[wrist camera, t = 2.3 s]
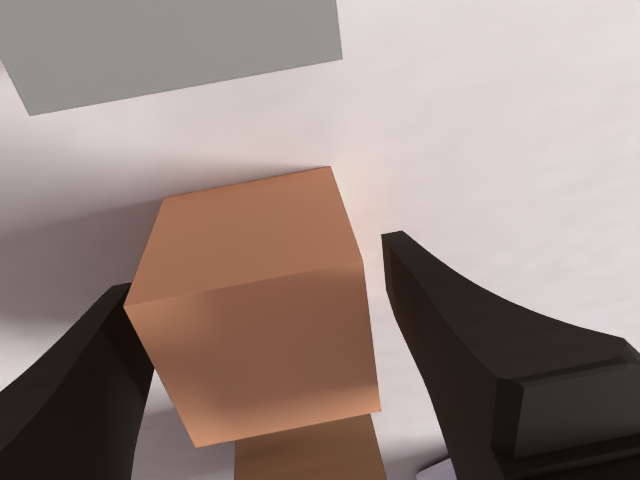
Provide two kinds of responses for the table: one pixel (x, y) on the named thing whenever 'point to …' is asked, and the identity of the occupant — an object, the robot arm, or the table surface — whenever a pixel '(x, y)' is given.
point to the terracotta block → (257, 308)
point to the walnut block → (313, 453)
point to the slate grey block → (154, 45)
